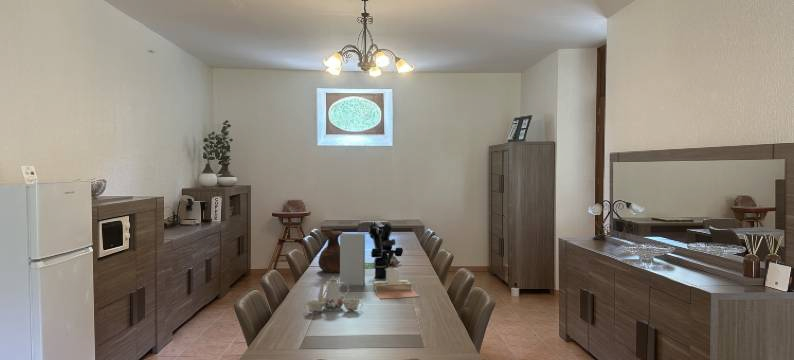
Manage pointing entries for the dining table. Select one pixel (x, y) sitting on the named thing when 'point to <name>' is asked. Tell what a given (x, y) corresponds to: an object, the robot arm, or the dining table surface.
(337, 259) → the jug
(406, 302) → the dining table surface
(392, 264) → the decorative card
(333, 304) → the chinaware
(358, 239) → the tall white box
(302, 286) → the dining table surface
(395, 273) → the block
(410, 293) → the mat
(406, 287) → the board
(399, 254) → the robot arm
